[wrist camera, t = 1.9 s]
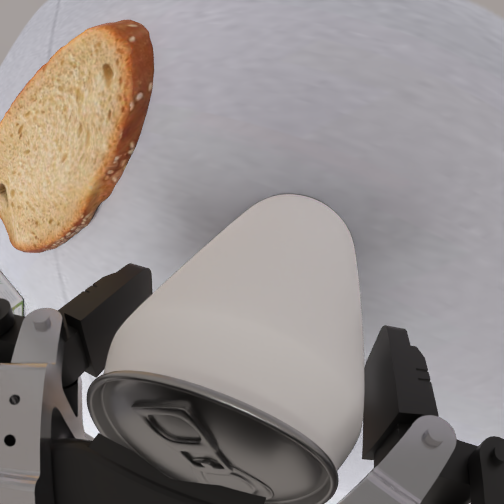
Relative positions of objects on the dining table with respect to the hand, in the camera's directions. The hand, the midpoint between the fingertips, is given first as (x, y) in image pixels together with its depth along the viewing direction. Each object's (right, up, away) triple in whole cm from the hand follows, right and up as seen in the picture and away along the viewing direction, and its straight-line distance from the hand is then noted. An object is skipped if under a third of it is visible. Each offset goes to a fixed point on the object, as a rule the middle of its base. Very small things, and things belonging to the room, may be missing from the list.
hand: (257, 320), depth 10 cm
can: (+2, +2, +6) cm, 7 cm away
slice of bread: (-15, +10, +8) cm, 20 cm away
